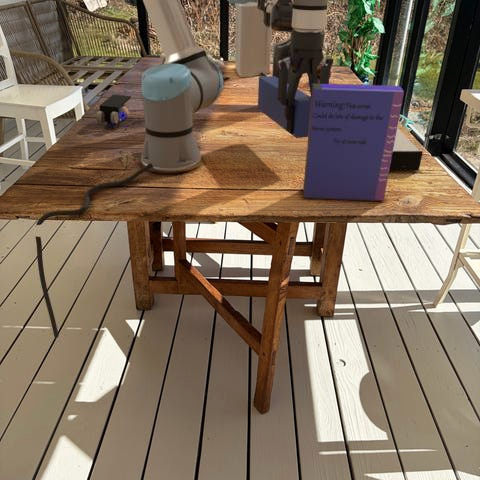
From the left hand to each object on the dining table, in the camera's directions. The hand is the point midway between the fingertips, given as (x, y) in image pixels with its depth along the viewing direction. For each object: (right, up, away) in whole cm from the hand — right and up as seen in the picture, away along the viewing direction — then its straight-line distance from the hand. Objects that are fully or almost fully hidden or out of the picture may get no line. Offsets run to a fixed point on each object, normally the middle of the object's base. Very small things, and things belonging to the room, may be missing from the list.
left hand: (299, 131), depth 119 cm
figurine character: (-54, +9, +32) cm, 63 cm away
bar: (-3, +4, +9) cm, 10 cm away
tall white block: (-9, +49, +99) cm, 111 cm away
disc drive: (+21, -4, +11) cm, 24 cm away
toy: (-37, +54, +106) cm, 124 cm away
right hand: (-3, +36, +21) cm, 42 cm away
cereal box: (+8, -17, -11) cm, 22 cm away
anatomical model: (+18, +38, +80) cm, 90 cm away
